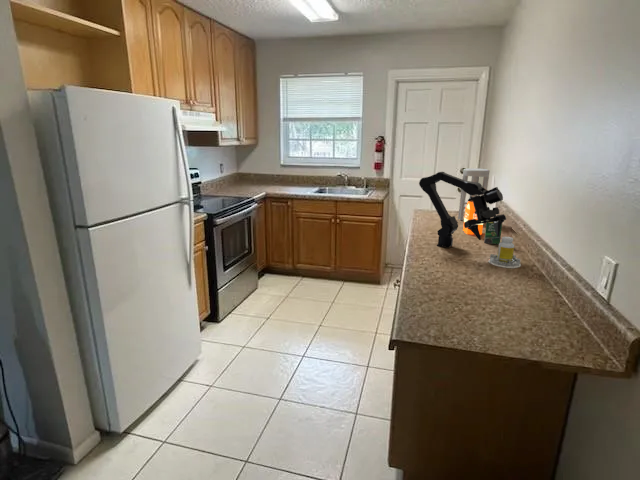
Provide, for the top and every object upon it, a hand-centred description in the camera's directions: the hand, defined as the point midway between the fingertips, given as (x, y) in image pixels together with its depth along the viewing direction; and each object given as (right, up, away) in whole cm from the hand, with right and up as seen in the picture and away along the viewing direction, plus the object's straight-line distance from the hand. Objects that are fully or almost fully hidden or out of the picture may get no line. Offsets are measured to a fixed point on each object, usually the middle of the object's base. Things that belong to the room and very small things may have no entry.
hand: (489, 238), depth 185 cm
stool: (+21, +12, +79) cm, 82 cm away
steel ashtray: (+4, -12, -6) cm, 14 cm away
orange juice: (+11, +3, +48) cm, 50 cm away
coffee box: (+13, -3, +27) cm, 30 cm away
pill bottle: (+4, -11, -6) cm, 13 cm away
